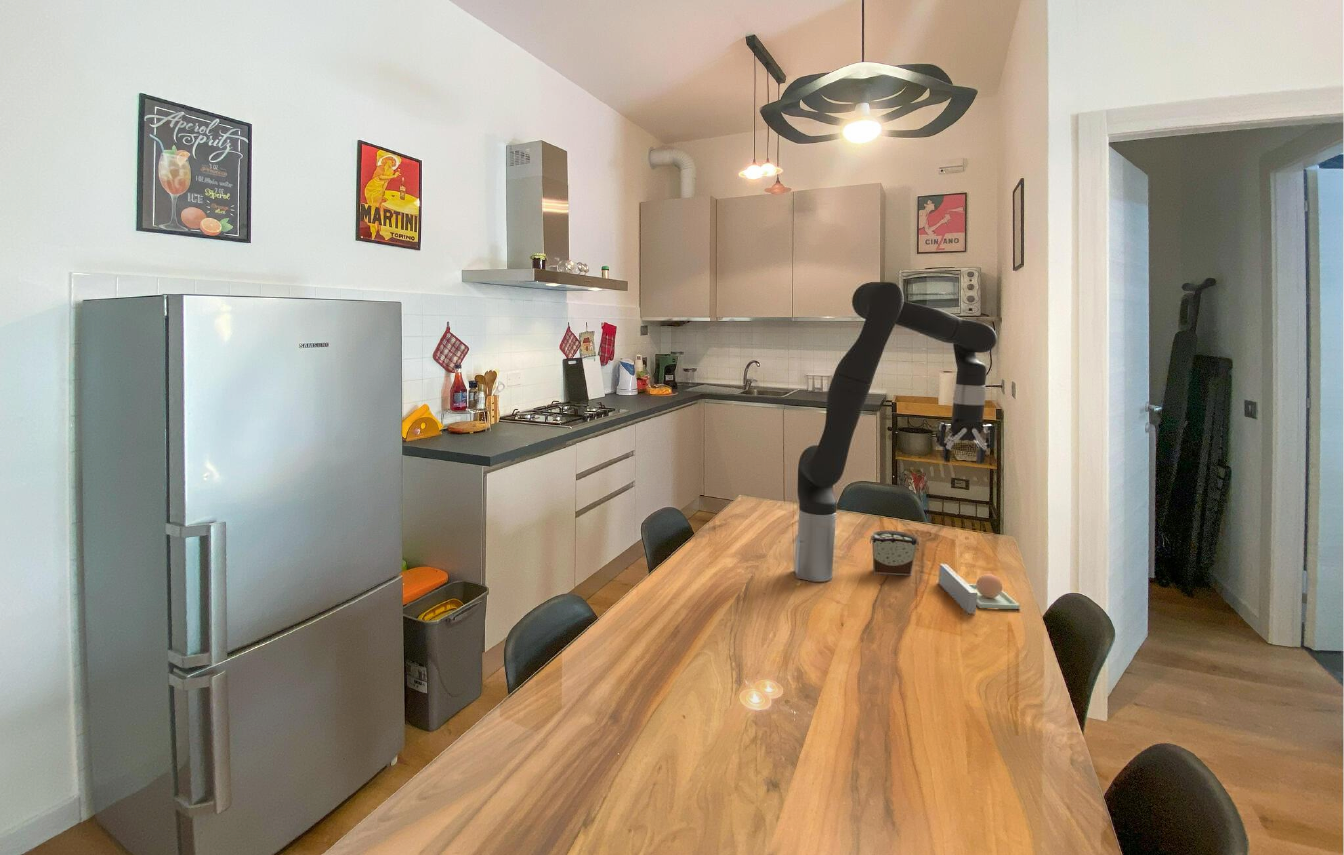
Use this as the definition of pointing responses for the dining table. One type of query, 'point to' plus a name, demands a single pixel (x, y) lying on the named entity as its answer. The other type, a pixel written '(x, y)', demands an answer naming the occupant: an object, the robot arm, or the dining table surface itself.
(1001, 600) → the sage tray
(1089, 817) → the dining table surface
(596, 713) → the dining table surface
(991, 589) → the ball
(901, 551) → the food container
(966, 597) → the low wall
